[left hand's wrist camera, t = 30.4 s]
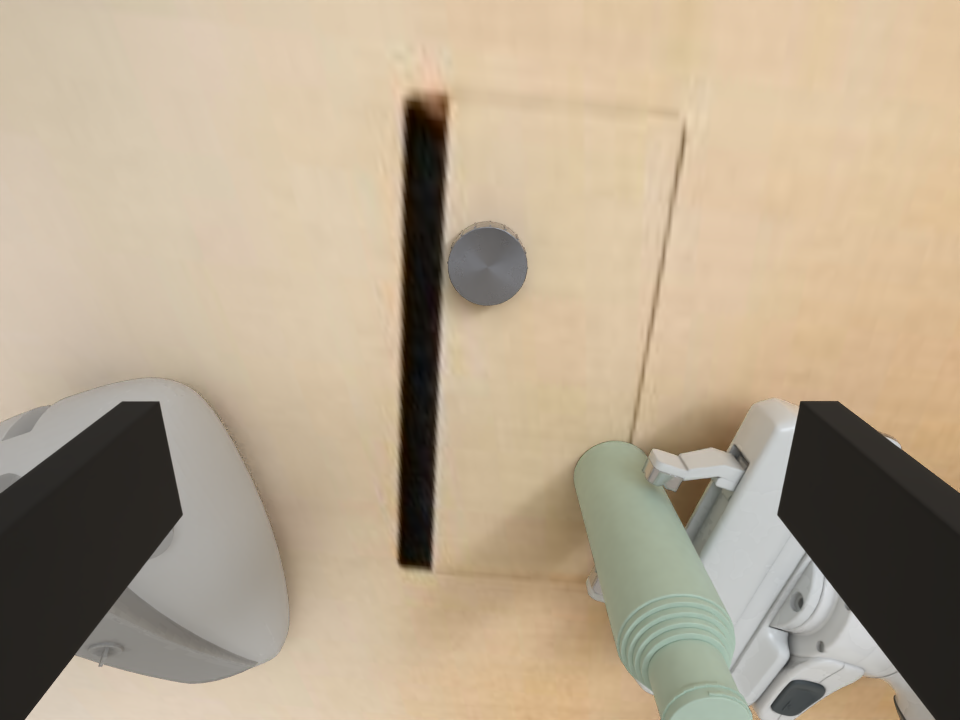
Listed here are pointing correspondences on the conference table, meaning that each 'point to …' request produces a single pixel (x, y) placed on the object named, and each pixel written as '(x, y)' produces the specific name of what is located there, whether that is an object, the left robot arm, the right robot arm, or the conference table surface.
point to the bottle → (657, 589)
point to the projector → (178, 543)
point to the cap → (487, 263)
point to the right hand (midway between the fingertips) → (618, 524)
